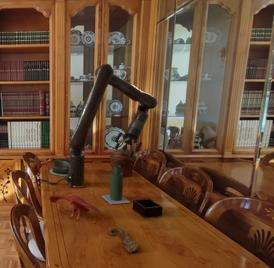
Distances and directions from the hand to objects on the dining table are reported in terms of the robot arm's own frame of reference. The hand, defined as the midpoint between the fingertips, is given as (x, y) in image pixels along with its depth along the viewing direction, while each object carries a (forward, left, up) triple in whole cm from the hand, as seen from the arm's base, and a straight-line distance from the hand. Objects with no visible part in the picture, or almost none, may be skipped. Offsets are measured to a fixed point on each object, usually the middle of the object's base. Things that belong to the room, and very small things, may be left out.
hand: (122, 153), depth 136 cm
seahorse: (-27, -47, -22) cm, 59 cm away
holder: (-3, -28, -22) cm, 36 cm away
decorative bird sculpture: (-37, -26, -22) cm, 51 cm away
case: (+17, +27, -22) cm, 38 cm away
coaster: (-10, -12, -22) cm, 27 cm away
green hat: (-23, +40, -22) cm, 51 cm away
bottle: (-10, -12, -22) cm, 27 cm away
